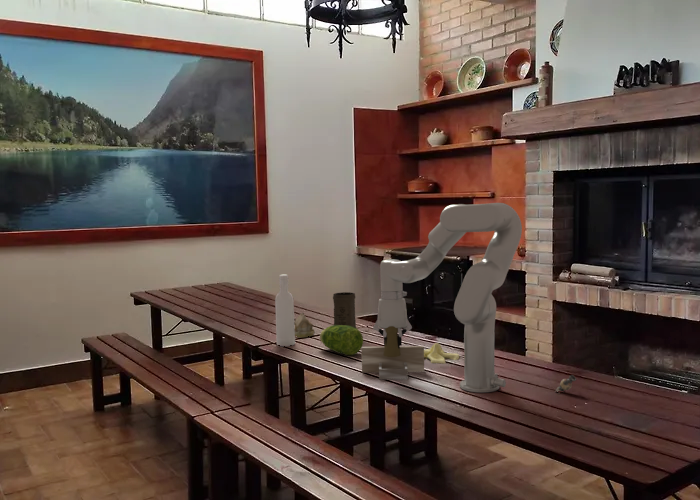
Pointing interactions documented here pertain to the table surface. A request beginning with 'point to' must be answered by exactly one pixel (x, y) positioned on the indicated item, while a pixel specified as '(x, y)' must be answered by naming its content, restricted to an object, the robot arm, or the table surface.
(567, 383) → the vase
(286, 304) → the bottle
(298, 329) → the ceramic model
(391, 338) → the olive rounded piece
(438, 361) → the cloth
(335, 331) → the lettuce
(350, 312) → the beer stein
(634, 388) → the table surface
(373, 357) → the wall board holder
